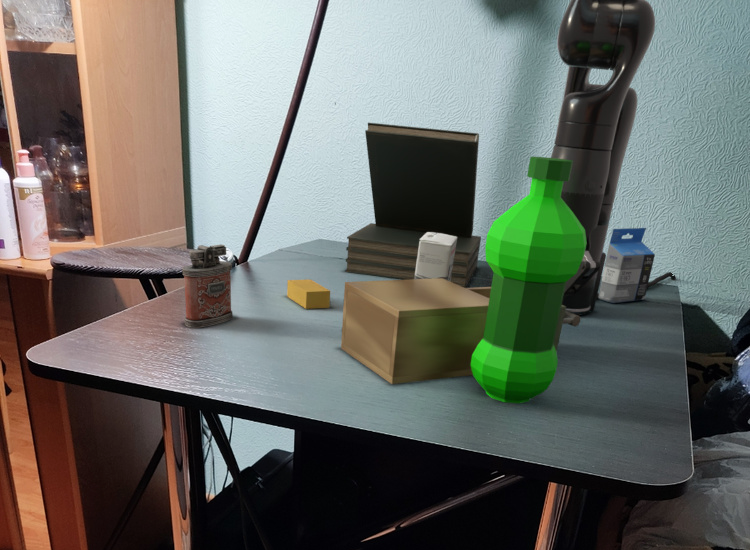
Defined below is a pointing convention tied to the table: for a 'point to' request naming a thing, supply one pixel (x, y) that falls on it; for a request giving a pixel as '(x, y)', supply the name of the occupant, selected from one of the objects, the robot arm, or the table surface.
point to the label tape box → (626, 267)
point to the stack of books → (417, 200)
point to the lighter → (207, 287)
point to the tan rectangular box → (413, 327)
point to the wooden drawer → (564, 318)
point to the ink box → (435, 256)
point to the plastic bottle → (528, 286)
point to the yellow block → (308, 294)
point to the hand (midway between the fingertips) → (547, 322)
